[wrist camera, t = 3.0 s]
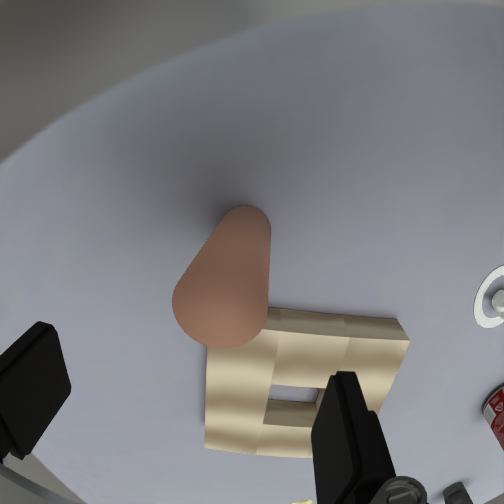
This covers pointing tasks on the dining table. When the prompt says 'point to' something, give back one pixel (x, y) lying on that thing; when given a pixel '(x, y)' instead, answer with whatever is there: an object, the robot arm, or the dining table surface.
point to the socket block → (294, 377)
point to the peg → (227, 282)
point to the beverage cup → (456, 494)
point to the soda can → (496, 414)
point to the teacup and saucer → (500, 301)
